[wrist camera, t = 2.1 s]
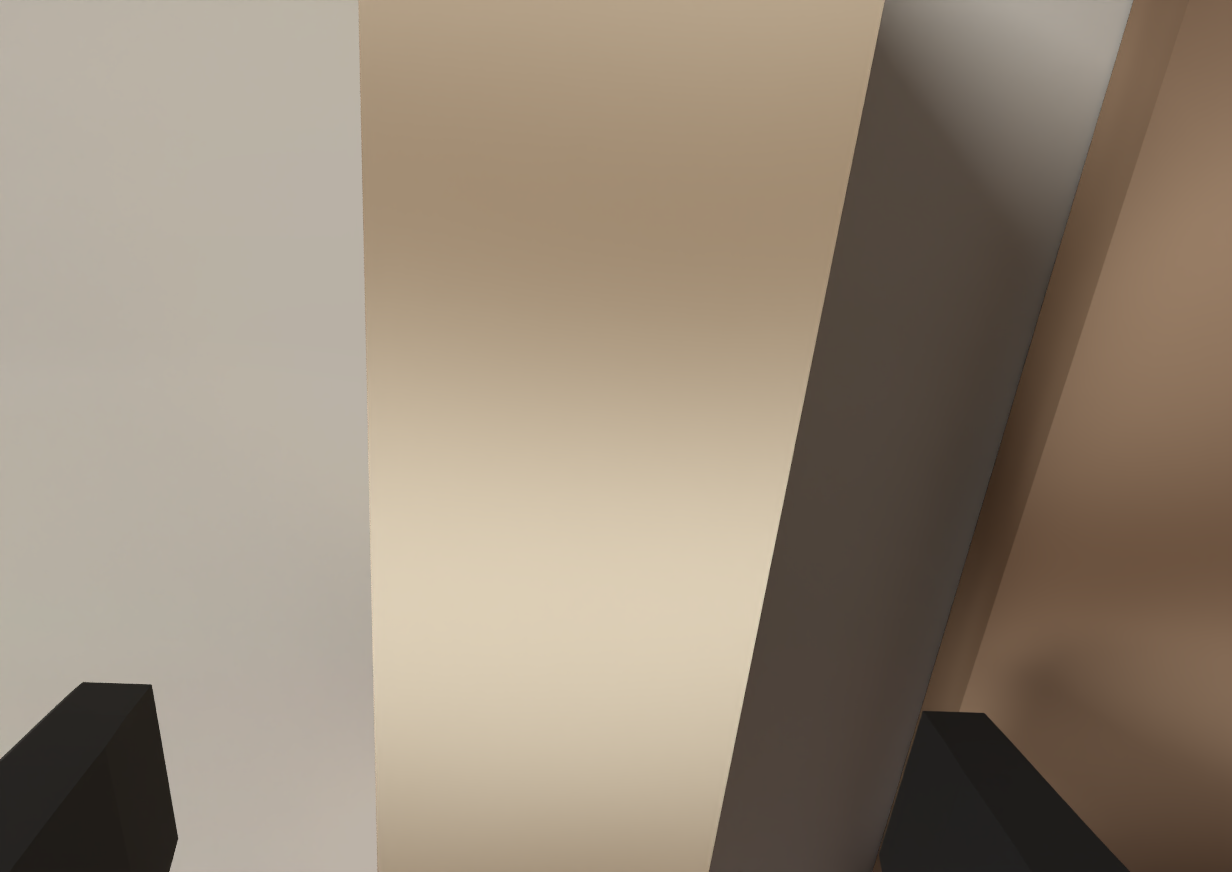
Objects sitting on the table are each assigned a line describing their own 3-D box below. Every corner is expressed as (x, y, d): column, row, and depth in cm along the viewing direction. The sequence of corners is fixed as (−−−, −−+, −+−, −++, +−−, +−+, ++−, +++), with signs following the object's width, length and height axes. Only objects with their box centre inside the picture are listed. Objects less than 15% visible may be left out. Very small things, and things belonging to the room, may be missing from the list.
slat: (591, 935, 18) (603, 1391, 13) (439, 932, 18) (388, 1395, 12) (731, -158, 10) (913, -142, 5) (463, -186, 10) (353, -200, 5)
